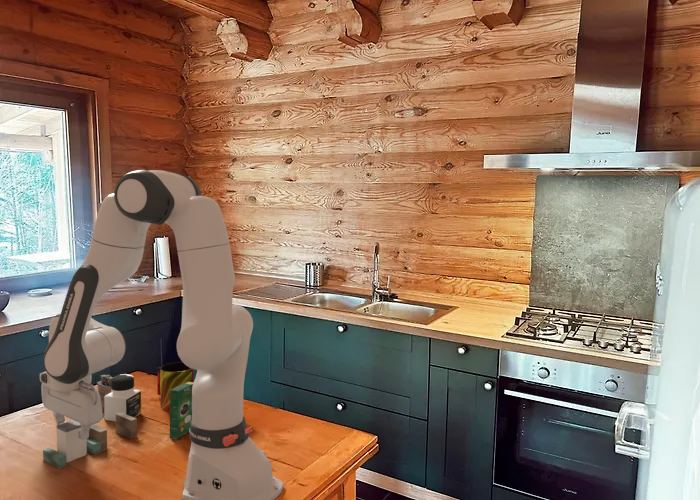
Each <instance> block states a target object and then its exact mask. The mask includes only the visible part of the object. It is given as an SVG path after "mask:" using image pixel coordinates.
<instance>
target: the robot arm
mask: <svg viewBox="0 0 700 500" xmlns="http://www.w3.org/2000/svg"><path fill="white" fill-rule="evenodd" d="M164 223H165V224H166V225H168V226H169V227H170V228H171V230H172V231H173V235H174V237H175V245H176V250H177V256H178V262H179V263H178V264H179V269H180V276H181V284H182V309H181V312H182V313H181V327H180V330H179V331H180V332H179V334H178V337H177V340H176V352H177V356H178V358H179V359H180V361H181V362H183V363H184V364H185V365H186V366H188V367H190V368H192V369H194V370H195V371H196V374H195V377H194V383H193V386H192V420H191V422H190V428H189V432H188V433H189V439H190V441H191V443H190V448H189V449H190V450H189V453H188V456H187V457H188V458H187V465H186V466H187V468H186V473H185V475H186V476H185V479H184V482H183V487H184V489H183V490H182V495H181V499H182V500H276V499H277V498H278V497H279V495H280V494H281V493H282V491H283V490H284V482H283V481H281V479H278V478H277V477H275V476H274V474H273V468H272V462H271V460H269V458H268V457H267V455H266V453H265V451H264V450H261V449H260V448H259V446H257V444H256V443H255V442H254V441H253V440H252V438H251V437H250V433H251V432H252V431H253V429H252V428H253V426H252V425H250V426H249V427H248V425H247V421H246V418H245V417H244V387H245V385H244V384H245V377H246V376H245V375H246V371H247V365H248V358H249V352H250V351H249V350H250V344H251V343H250V341H251V337H252V333H253V329H254V320H253V317H252V314H251V313H250V311H248V310H247V309H246V308H245V307H243V306H241V305H239V304H233V296H234V295H233V293H234V285H235V281H236V276H235V269H234V263H233V257H232V251H231V250H232V249H231V244H230V238H229V234H228V229H227V225H226V222H225V219H224V216H223V212H222V210H221V207H220V205H219V204H218V202H217V201H216V200H215V199H214V198H211V197H210V196H205V195H202V191H201V189H200V187H199V184H198V183H197V182H196V181H195V180H194V179H193V178H191V177H190V176H188V175H185V174H183V173H178V172H176V173H175V172H172V171H167V170H159V169H156V170H155V169H153V170H151V169H150V170H146V169H138V170H134V171H130V172H128V173H126V174H124V175H123V176H121V177H120V178H119V179H118V180H117V182H116V184H115V187H114V191H113V193H110V194H108V195H107V196H106V197H105V198H104V199H103V200H102V202H101V206H100V207H99V210H98V213H97V216H96V219H95V223H94V226H93V230H92V235H91V240H90V245H89V248H88V251H87V253H86V256H85V258H84V260H83V261H82V263H81V265H80V266H79V268H78V269H77V270H76V271H75V272H74V274H73V277H72V278H71V280H70V283H69V286H68V288H67V293H66V295H65V299H64V301H63V304H62V305H63V306H62V307H61V311H60V313H58V314H56V315H54V316H53V317H52V318H51V321H50V324H49V329H48V330H49V331H48V344H47V345H46V348H45V350H44V354H43V367H44V371H43V372H40V373H39V381H40V383H41V385H40V386H41V400H42V405H43V407H44V409H46V410H49V411H52V413H53V417H54V420H55V422H56V427H57V426H58V425H61V424H64V423H67V422H68V421H67V420H66V418H68V419H70V420H71V421H72V420H75V421H77V422H79V423H80V426H82V427H81V431H79V432H78V435H79V436H78V438H80V439H82V440H85V439H87V438H88V437H89V430H90V428H91V425H93V424H95V425H97V424H98V423H100V422H101V421H102V419H103V410H102V405H101V398H100V394H99V392H98V389H96V388H95V386H94V384H92V374H93V375H94V374H95V373H97V372H100V371H103V370H105V369H106V368H109V367H112V366H115V365H116V364H118V363H119V362H121V361H122V360H123V359H124V357H125V353H126V350H127V344H126V342H127V341H126V339H125V337H124V335H123V333H122V331H120V330H119V329H118V328H116V327H114V326H109V325H106V324H104V323H101V322H99V321H97V320H95V319H94V318H92V316H93V314H94V309H95V307H96V305H97V303H98V302H99V301H100V299H101V298H102V297H103V296H104V295H106V293H108V292H109V291H110V290H112V289H113V288H115V286H118V285H119V284H121V283H123V282H125V281H127V280H128V279H129V278H131V277H132V276H133V275H134V274H136V272H137V271H138V269H139V268H140V267H139V266H140V265H141V263H142V260H143V256H144V253H145V246H146V239H147V233H148V230H149V228H150V225H152V224H153V225H159V226H161V225H162V224H164ZM65 417H66V418H65Z"/></svg>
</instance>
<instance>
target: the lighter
mask: <svg viewBox="0 0 700 500" xmlns="http://www.w3.org/2000/svg"><path fill="white" fill-rule="evenodd" d="M113 377H114V376H113ZM113 377H112V376H111V374H102V375H101V374H100V381H97V382H96V384H97V391H98V392H99V394H100V398H101V405H102V412H105V411H104V396H105V395H107V394H109V393H111V379H112V378H113Z"/></svg>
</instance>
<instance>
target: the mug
mask: <svg viewBox="0 0 700 500" xmlns="http://www.w3.org/2000/svg"><path fill="white" fill-rule="evenodd" d="M194 370H195V369H192V368H190V367H188V366H186V365H185V364H184V363H183V362H182V361H181V362H180V361H178V362H171V363H170V362H169V363H166V364H163V365H162V366H158V367H157V383H156V384H157V385H156V386H157V389H156V390H157V395H158V396H160V409H161V410H163V411H165V412H170V390H171V389H173V388H175V387H177V386H179V385H182V384H184V383H186V382H194V380H195V375H194V374H195V373H194V372H195V371H194Z"/></svg>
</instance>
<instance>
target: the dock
mask: <svg viewBox="0 0 700 500" xmlns="http://www.w3.org/2000/svg"><path fill="white" fill-rule="evenodd" d="M115 433H117V434H119V435H122V436H124V437H125V438H129V439H131V440H133V439H136V438H138V419H137V417H131V416H129V415H126V414H124V413H121V412H120V413H118V414H116V421H115ZM86 441H87V452H88V453H90V454H92V455H96V454H99V453H101V452H104V451H106V450H108V430H107V429H106V428H103V427H101V426H100V425H97V424H93V425H91V428H90V430H89V437H88V438H87V439H86ZM42 460H43V461H45V462H46V463H48V464H50V465H52V466H54V467H56V469H57V468H58V469H62V468H64V467H66V465H67V464H66V457H65V455H63V454H61V453H59V452H57V450H56V449H53V448H51V447H47V448H45V449H43V450H42Z"/></svg>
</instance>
